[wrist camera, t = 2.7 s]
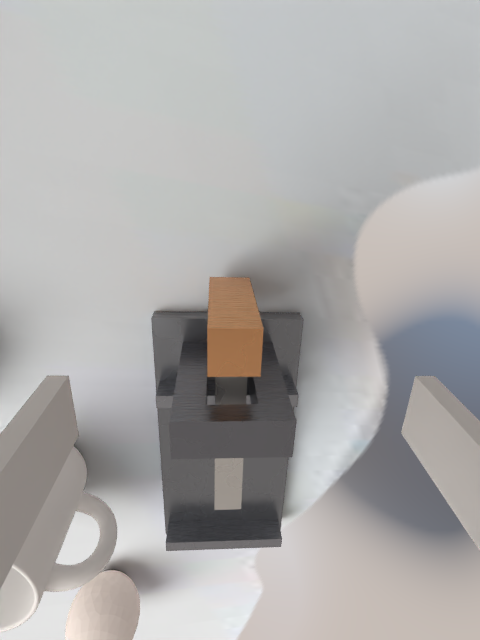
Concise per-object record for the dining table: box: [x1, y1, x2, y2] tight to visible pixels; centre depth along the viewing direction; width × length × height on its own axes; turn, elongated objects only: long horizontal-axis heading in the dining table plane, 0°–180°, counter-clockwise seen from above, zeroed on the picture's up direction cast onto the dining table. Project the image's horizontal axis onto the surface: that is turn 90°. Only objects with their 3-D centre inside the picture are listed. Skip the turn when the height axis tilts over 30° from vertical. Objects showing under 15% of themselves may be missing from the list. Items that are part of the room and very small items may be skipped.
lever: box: [207, 277, 264, 510], centre depth 24 cm, size 15×3×8 cm, turn 178°
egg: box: [65, 570, 140, 640], centre depth 34 cm, size 6×6×8 cm
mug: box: [0, 446, 117, 632], centre depth 28 cm, size 12×8×10 cm
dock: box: [151, 312, 303, 551], centre depth 27 cm, size 22×11×10 cm, turn 178°
